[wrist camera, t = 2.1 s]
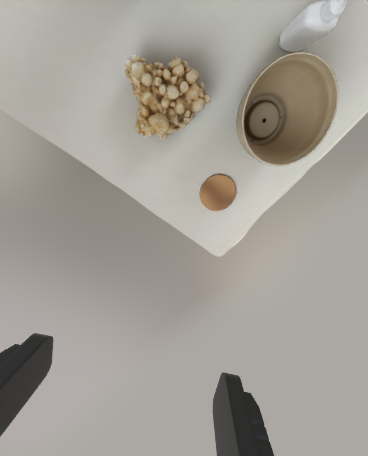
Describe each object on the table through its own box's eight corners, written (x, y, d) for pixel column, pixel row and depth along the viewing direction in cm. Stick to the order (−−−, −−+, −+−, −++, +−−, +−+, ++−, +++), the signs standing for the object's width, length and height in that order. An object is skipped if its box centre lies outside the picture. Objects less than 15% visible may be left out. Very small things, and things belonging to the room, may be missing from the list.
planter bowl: (214, 150, 42) (228, 152, 32) (241, 63, 36) (268, 33, 26) (276, 169, 45) (306, 176, 35) (311, 91, 39) (359, 74, 29)
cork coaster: (204, 171, 44) (205, 171, 44) (240, 178, 46) (240, 179, 45) (196, 206, 48) (196, 207, 47) (229, 213, 49) (229, 213, 49)
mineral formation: (126, 61, 35) (206, 52, 34) (141, 139, 42) (207, 133, 42) (114, 51, 28) (213, 41, 28) (134, 146, 36) (213, 139, 35)
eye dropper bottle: (290, 16, 34) (348, -44, 23) (310, 39, 36) (373, -7, 25) (274, 42, 35) (321, -3, 24) (294, 63, 37) (346, 30, 26)
